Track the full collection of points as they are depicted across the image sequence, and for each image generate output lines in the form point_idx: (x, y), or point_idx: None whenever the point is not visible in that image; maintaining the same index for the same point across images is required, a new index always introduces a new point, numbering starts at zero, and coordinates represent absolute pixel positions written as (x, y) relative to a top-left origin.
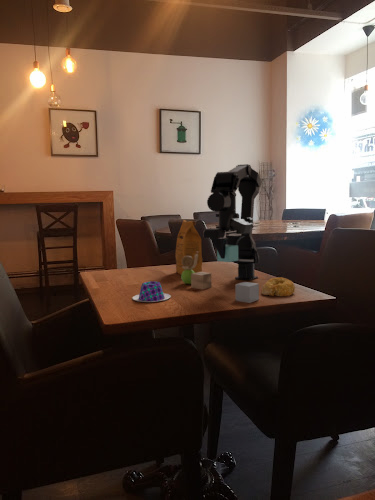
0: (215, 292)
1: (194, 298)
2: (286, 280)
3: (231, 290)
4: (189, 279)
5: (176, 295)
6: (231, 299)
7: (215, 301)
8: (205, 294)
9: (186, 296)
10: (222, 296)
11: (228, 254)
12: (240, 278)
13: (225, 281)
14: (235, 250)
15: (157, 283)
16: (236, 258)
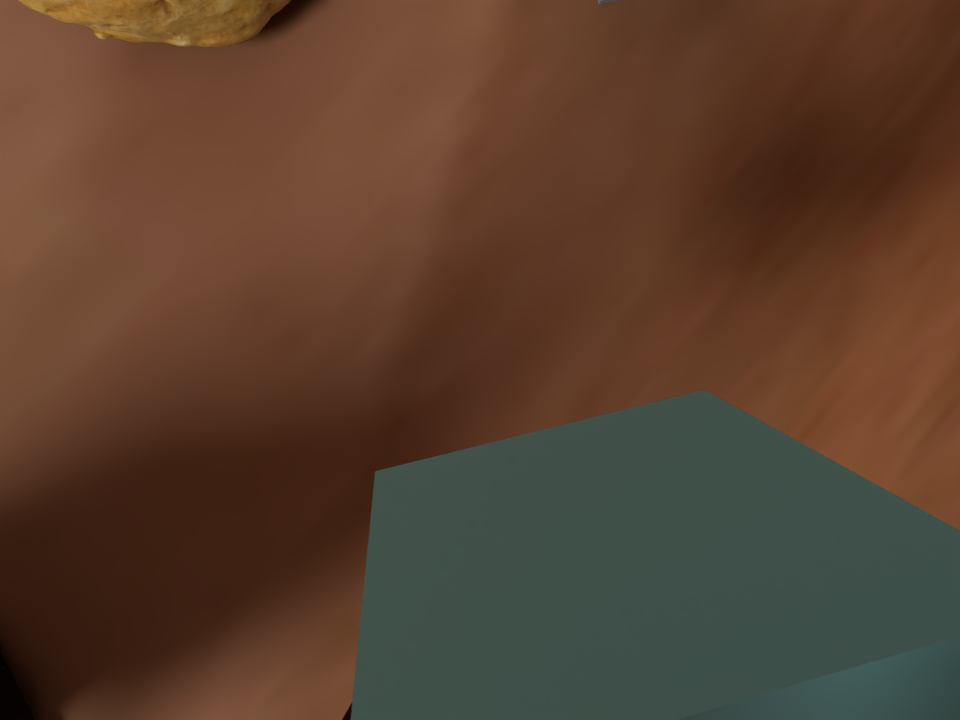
0: (648, 386)
1: (930, 322)
2: None
3: (475, 353)
4: None
5: (939, 505)
6: (755, 43)
7: (904, 97)
8: (766, 381)
9: (917, 426)
10: (721, 208)
11: (826, 480)
12: (20, 709)
13: (229, 717)
14: (536, 589)
15: None
16: (452, 472)
